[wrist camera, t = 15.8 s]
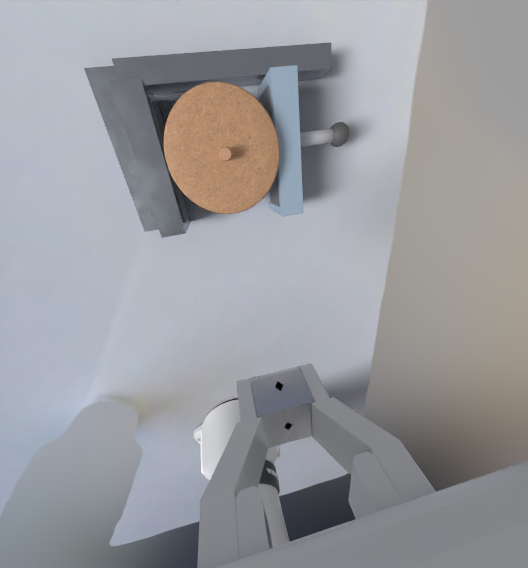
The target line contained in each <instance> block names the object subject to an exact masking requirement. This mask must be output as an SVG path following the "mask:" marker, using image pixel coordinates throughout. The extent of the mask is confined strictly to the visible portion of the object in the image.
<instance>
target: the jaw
mask: <svg viewBox="0 0 528 568" xmlns="http://www.w3.org/2000/svg"><path fill="white" fill-rule="evenodd" d="M258 98H259V102H260V103H261V104H262V105H263V107H264V108H265V110H266V111H267V112H268V114H269V116H270V118H271V120H272V122H273V124H274V127H275V129H276V132H277V136H278V141H279V151H280V156H279V166H278V171H277V174H276V177H275V180H274V182H273V184H272V186H271V188H270V190H269V201H270V209H271V210H273V211H275V212H276V213H278V214H279V215H281V216H289V215H295V214H301V213H303V190H302V167H301V147H303V146H310V145H318V144H325V143H330V144H331V145H332V146H335V147H339V146H342V145H343V144H344V143H345V142H346V141H347V140H348V137H349V128H348V126H347V125H346V124H345V123H343V122H338V123H336V124H334V125H333V126H332V127H331V128H330V129H324V130H316V131H308V132H300V119H299V96H298V72H297V65H293V66H281V67H270V69H269V71H268V72H267V74H266V76H265V78H264V79H263V81H262V83H261V85H260V86H259V88H258Z"/></svg>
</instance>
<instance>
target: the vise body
mask: <svg viewBox="0 0 528 568" xmlns="http://www.w3.org/2000/svg"><path fill="white" fill-rule="evenodd" d="M112 61H113V64H114V66H107V67H94V68H84V69H85V72H86V75H87V77H88V80H89V83H90V85H91V88H92V91H93V94H94V96H95V99H96V102H97V104H98V107H99V110H100V112H101V115H102V118H103V120H104V123H105V126H106V128H107V131H108V134H109V137H110V139H111V142H112V145H113V147H114V150H115V153H116V155H117V158H118V161H119V163H120V166H121V169H122V172H123V174H124V177H125V180H126V182H127V185H128V188H129V190H130V193H131V196H132V198H133V201H134V204H135V207H136V209H137V212H138V215H139V217H140V220H141V223H142V225H143V228H144V231H151V230H157V229H159V230H160V233H161V236H162V237H168V236H173V235H179V234H185V233H186V231H187V229H188V226H189V224H190V219H189V215H188V212H187V208H186V204H185V201H184V197H183V193H182V191H181V190H180V188H179V187H178V186H177V184H176V183H175V181H174V179H173V178H172V176H171V173H170V171H169V169H168V166H167V162H166V159H165V153H164V131H165V127H164V123H163V120H162V116H161V112H160V109H159V105H158V101H157V99H156V98H155V97H154V94H165V93H175V92H186V91H188V90H190V89H191V88H193V87H195V86H197V85H200V84H203V83H206V82H226V83H230V84H233V85H236V86H238V87H239V86H250V85H260V84H261V83H262V81H263V79H264V78H265V76H266V74H267V72H268V71H269V69H270V67H281V66H293V65H297V72H298V81H303V80H313V79H320V78H321V77H322V76H323V75H324V74H325V73H327V72H328V71H329V70H330V69H331V43H320V44H306V45H293V46H279V47H265V48H252V49H238V50H225V51H211V52H197V53H184V54H170V55H156V56H143V57H129V58H115V59H112Z"/></svg>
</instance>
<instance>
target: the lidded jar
mask: <svg viewBox="0 0 528 568" xmlns="http://www.w3.org/2000/svg"><path fill="white" fill-rule="evenodd" d="M164 153H165V159H166V162H167V166H168V169H169V171H170V173H171V176H172V178H173V179H174V181H175V183H176V184H177V186H178V187H179V188H180V190H181V191H182V192H183V193H184V194H185V195H186V196H187V197H188V198H189V199H190V200H191V201H193V202H194V203H195V204H197V205H198V206H200V207H202V208H204V209H206V210H209V211H212V212H216V213H222V214H232V213H238V212H241V211H244V210H247V209H249V208H251V207H253V206H254V205H256V204H257V203H258V202H259V201H261V200H262V198H263V197H264V196H265V195H266V194H267V193H268V191H269V190H270V188H271V186H272V184H273V182H274V180H275V177H276V174H277V171H278V166H279V156H280V151H279V141H278V136H277V132H276V129H275V127H274V124H273V122H272V120H271V118H270V116H269V114H268V112H267V111H266V110H265V108H264V107H263V105H262V104H261V103H260V102H259V101H258V100H257V99H256V98H255V97H254V96H253V95H251V94H250V93H249V92H247V91H246V90H244V89H242V88H240V87H238V86H236V85H233V84H230V83H226V82H206V83H203V84H200V85H197V86H195V87H193V88H191V89H190V90H188V91H187V92H186V93H184V94H183V95H182V96H181V97H180V98H179V99H178V100H177V102H176V103H175V104H174V106H173V108H172V109H171V111H170V113H169V115H168V118H167V122H166V125H165V131H164Z"/></svg>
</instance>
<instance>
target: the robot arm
mask: <svg viewBox="0 0 528 568" xmlns="http://www.w3.org/2000/svg"><path fill="white" fill-rule="evenodd" d="M250 380H251V381H250ZM237 391H238V400H232V401H229V402H226V403H224V404H221V405H219V406H218V407H216V408H215V409H213V410H212V411H211V412H210V413H209V414H208V415H207V417H206V418H205V420H204V422H203V423H202V425H200V426H199V427H198V428H196V429H195V431H194V438H195V439H196V440H197V441H198V442H199V443H200V445H201V471H202V474H204V476H205V477H206V478H207V479H208V480H209V483H208V486H207V488H206V490H205V492H204V494H203V496H202V498H201V503H200V525H199V545H198V567H197V568H528V460H527V461H525V462H522V463H519V464H516V465H513V466H510V467H507V468H504V469H501V470H498V471H495V472H493V473H490V474H487V475H484V476H481V477H478V478H475V479H472V480H469V481H466V482H463V483H460V484H458V485H455V486H452V487H449V488H446V489H443V490H440V491H437V492H436V491H435V490H434V488H433V487H432V486H431V484H430V483H429V481H428V480H427V478H426V477H425V476H424V474H423V473H422V471H421V470H420V468H419V467H418V466H417V464H416V463H415V461H414V460H413V459H412V457H411V456H410V454H409V453H408V451H407V450H406V449H405V447H404V446H403V444H402V443H401V442H400V440H398V439H397V438H395V437H394V436H392V435H391V434H389V433H388V432H386V431H384V430H383V429H381V428H380V427H378V426H377V425H375V424H374V423H372V422H371V421H369V420H368V419H366V418H365V417H363V416H362V415H360V414H359V413H357V412H356V411H354V410H352V409H351V408H349V407H348V406H346V405H345V404H343V403H342V402H340V401H339V400H337V399H336V398H334V397H333V398H330V397H329V395H328V394H327V392H326V390H325V388H324V386H323V384H322V382H321V380H320V378H319V377H318V375H317V373H316V371H315V369H314V367H313V365H312V364H311V363H310V364H306V365H302V366H299V367H298V366H297V367H294V368H290V369H286V370H282V371H278V372H274V373H271V374H267V375H262V376H257V377H253V378H249V379H244V380H240V381H237ZM310 436H312V437H313V438H314V439H315V440H316V441H317V442H318V443H319V444H320V445H321V446H322V447H323V448H324V449H325V450H326V451H327V452H328V453H329V454H330V455H331V456H332V457H333V458H334V459H335V460H336V461H337V462H338V463H339V464H340V465H341V466H342V467H343V468H344V469H345V470H346V471H347V472H348V473H350V474H351V475H352V477H351V485H350V493H349V503H350V506H351V508H352V510H353V513H354V515H355V518H356V519H355V520H353V521H350V522H347V523H344V524H341V525H338V526H335V527H332V528H329V529H327V530H324V531H321V532H318V533H315V534H312V535H309V536H306V537H303V538H300V539H297V540H294V541H291V542H289V538H288V535H287V531H286V527H285V523H284V518H283V514H282V510H281V505H280V501H279V496H278V495H279V492H280V489H279V480H278V476H277V473H276V469H275V466H274V463H275V460H276V458H278V457H280V449H279V445H281V444H284V443H287V442H290V441H294V440H298V439H302V438H306V437H310Z"/></svg>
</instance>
